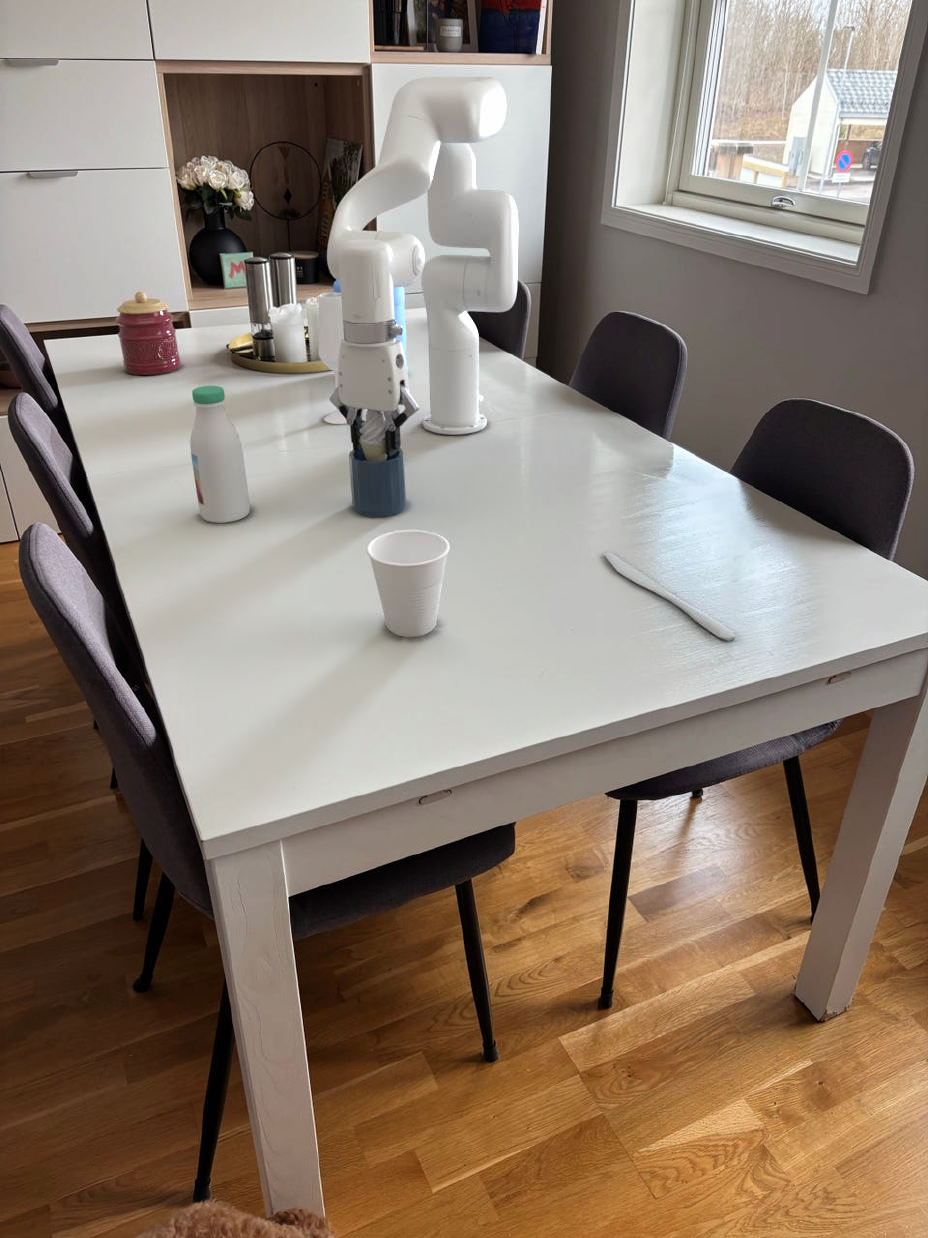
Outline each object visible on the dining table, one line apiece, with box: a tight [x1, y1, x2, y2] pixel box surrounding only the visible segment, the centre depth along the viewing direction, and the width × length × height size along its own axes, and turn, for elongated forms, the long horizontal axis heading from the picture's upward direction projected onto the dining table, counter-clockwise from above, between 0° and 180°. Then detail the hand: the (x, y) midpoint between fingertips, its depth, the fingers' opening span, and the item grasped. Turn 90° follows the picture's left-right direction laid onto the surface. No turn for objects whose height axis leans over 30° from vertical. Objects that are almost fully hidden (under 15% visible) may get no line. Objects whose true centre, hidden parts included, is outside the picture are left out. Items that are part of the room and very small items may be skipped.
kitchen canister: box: [114, 291, 181, 376], centre depth 222 cm, size 13×13×18 cm
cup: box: [365, 529, 450, 638], centre depth 116 cm, size 10×10×11 cm
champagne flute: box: [318, 292, 347, 425], centre depth 186 cm, size 7×7×24 cm
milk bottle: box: [189, 385, 251, 524], centre depth 145 cm, size 8×8×20 cm
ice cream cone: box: [359, 409, 388, 462], centre depth 147 cm, size 5×5×15 cm
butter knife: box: [604, 552, 736, 641], centre depth 125 cm, size 1×27×3 cm
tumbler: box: [348, 447, 407, 518], centre depth 150 cm, size 8×8×9 cm
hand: (376, 449), depth 147 cm, fingers closed on ice cream cone, 5 cm apart
